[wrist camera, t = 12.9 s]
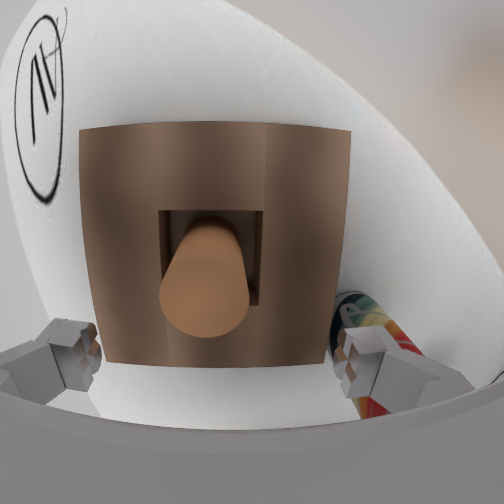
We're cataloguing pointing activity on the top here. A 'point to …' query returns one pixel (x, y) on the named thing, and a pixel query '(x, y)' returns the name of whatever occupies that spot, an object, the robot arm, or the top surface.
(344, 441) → the robot arm
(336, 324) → the lotion bottle
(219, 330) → the pin
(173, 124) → the socket block
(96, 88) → the top surface
